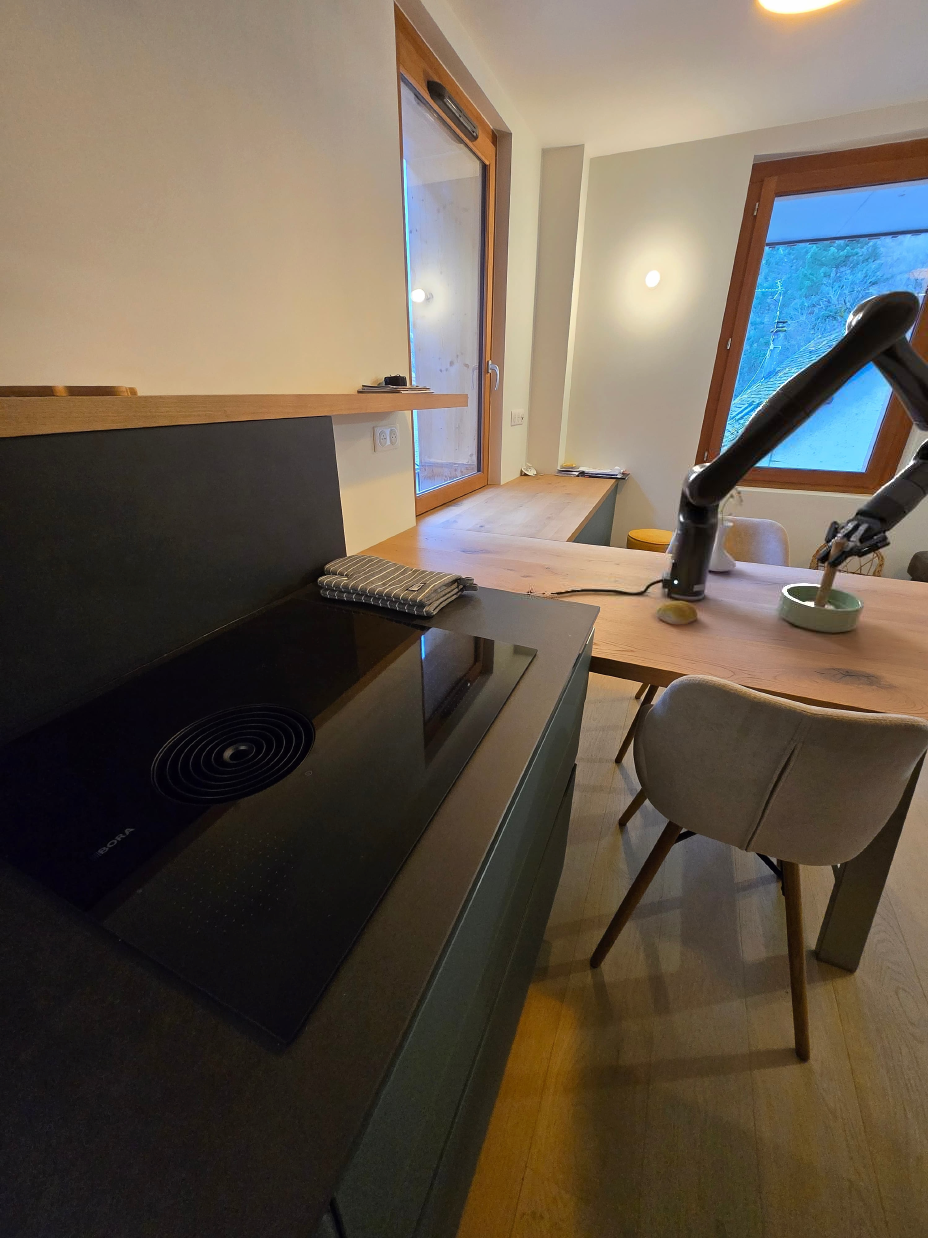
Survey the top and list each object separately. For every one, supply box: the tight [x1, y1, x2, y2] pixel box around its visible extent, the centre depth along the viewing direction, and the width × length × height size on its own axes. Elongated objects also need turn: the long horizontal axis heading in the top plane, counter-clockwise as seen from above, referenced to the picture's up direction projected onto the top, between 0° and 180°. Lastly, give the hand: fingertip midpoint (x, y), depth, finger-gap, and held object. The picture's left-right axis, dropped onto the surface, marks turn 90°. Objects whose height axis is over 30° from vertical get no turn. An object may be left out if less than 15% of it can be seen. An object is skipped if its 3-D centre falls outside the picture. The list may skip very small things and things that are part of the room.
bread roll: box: [655, 600, 698, 625], centre depth 117 cm, size 8×9×4 cm
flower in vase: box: [709, 485, 744, 572], centre depth 144 cm, size 13×11×25 cm
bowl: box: [776, 583, 865, 634], centre depth 115 cm, size 16×16×6 cm
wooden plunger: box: [804, 539, 846, 609], centre depth 112 cm, size 6×6×18 cm
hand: (825, 563), depth 110 cm, fingers closed on wooden plunger
